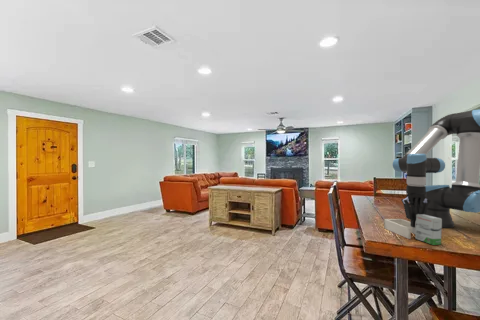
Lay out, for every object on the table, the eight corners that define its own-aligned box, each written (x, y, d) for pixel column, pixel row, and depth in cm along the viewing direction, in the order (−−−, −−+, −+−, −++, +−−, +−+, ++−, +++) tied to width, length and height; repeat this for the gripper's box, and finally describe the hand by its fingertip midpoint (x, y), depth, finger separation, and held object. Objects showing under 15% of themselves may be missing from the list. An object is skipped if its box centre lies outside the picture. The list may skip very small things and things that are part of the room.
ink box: (441, 244, 103) (443, 218, 103) (432, 245, 102) (433, 218, 102) (423, 237, 111) (424, 213, 111) (414, 238, 111) (415, 213, 110)
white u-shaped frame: (401, 227, 129) (401, 218, 129) (428, 238, 112) (428, 227, 112) (384, 228, 129) (384, 219, 129) (408, 238, 111) (408, 228, 111)
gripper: (422, 184, 116) (421, 231, 116) (397, 184, 116) (396, 231, 116) (435, 186, 109) (435, 236, 109) (408, 186, 108) (408, 236, 108)
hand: (415, 233), depth 112 cm, fingers closed
